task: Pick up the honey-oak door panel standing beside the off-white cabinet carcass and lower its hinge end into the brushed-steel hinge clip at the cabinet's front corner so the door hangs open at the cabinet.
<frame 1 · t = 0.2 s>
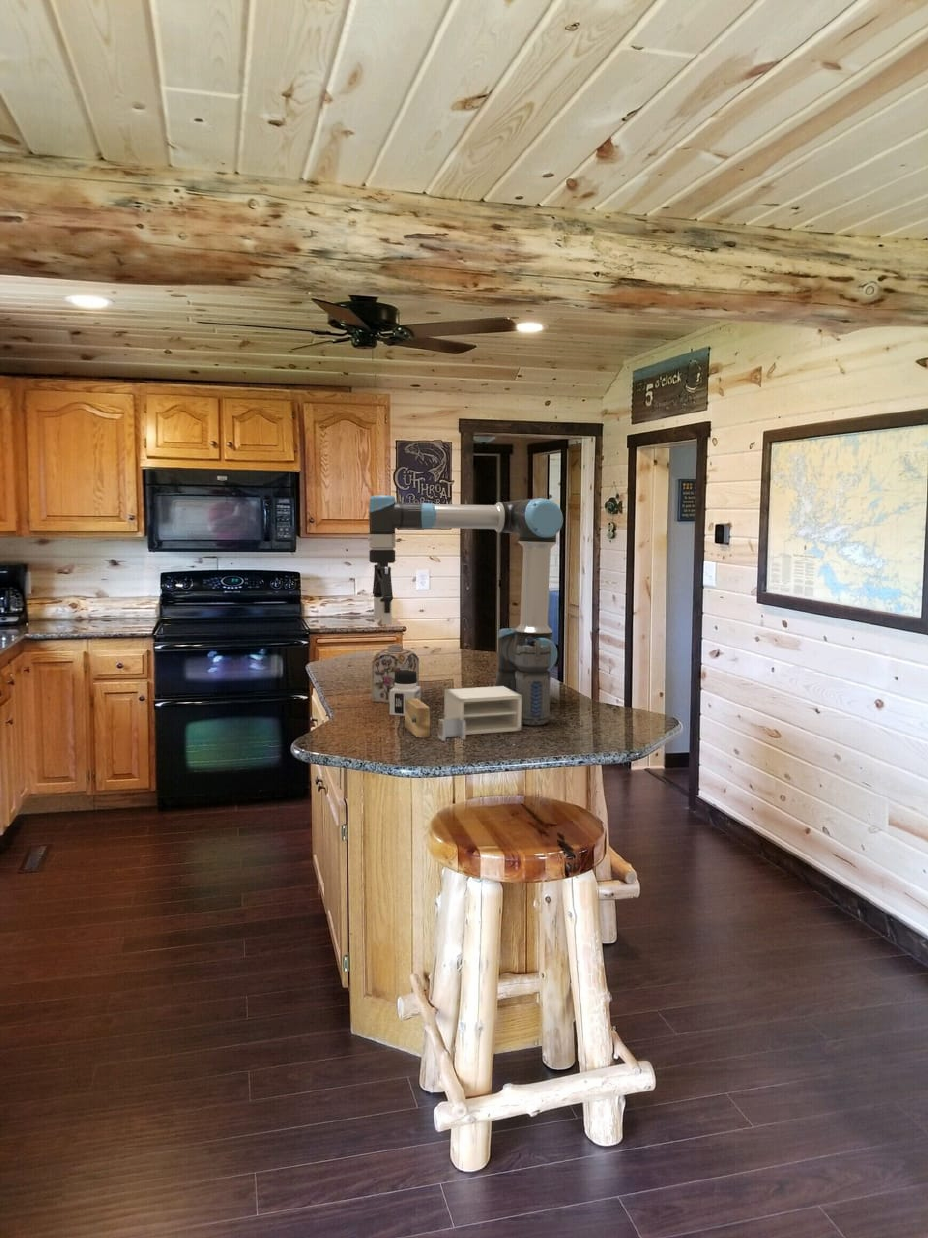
hand: (382, 621, 253), 28 cm above the countertop, fingers open, 13 cm apart
beverage bottle: (531, 722, 250), on the countertop
container: (405, 713, 259), on the countertop
cabinet carcass: (481, 727, 242), on the countertop
hinge clip: (451, 738, 229), on the countertop
oak door: (417, 732, 236), on the countertop
decorative jar: (395, 700, 277), on the countertop
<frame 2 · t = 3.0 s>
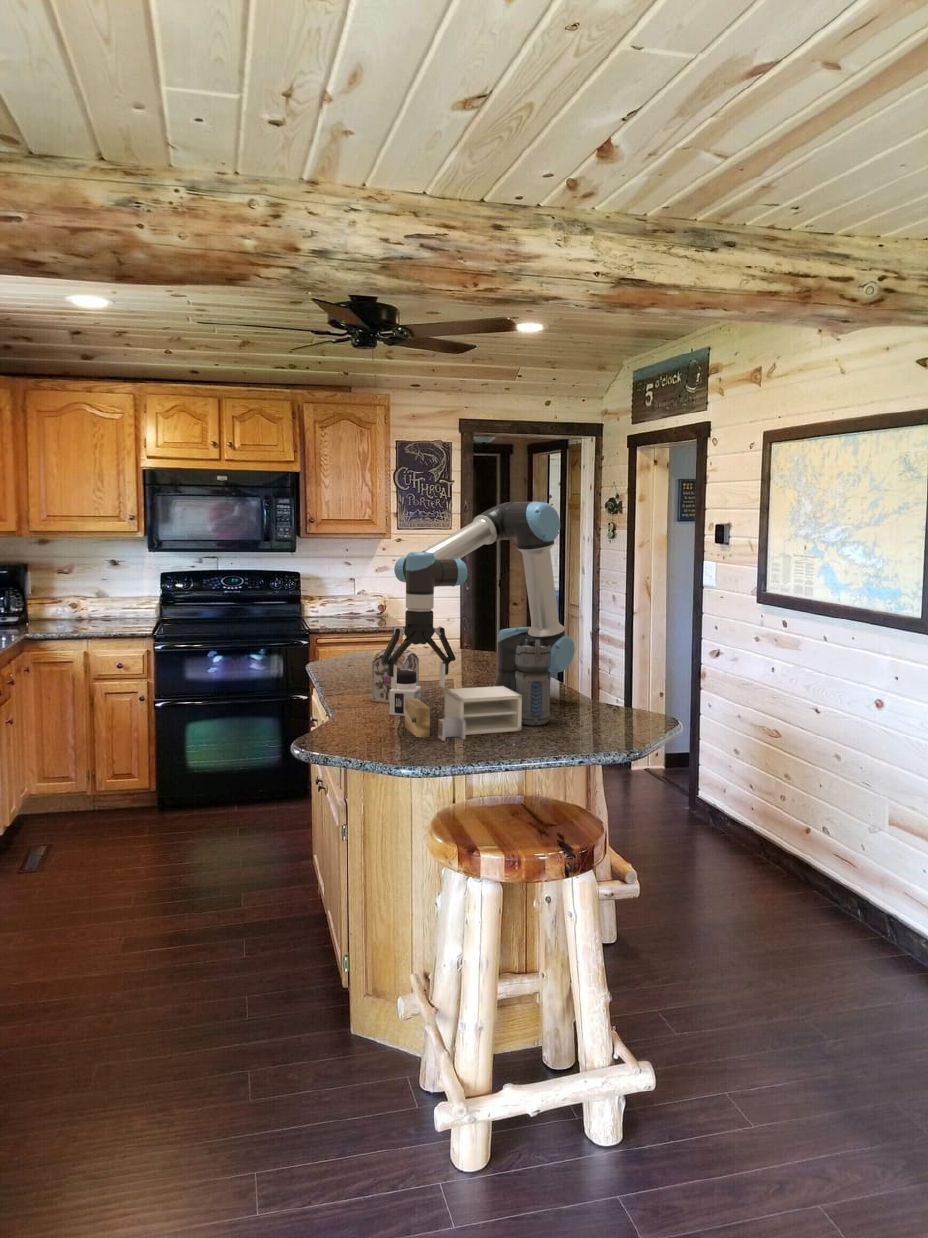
hand: (418, 687, 233), 13 cm above the countertop, fingers open, 13 cm apart
nothing on the countertop moved.
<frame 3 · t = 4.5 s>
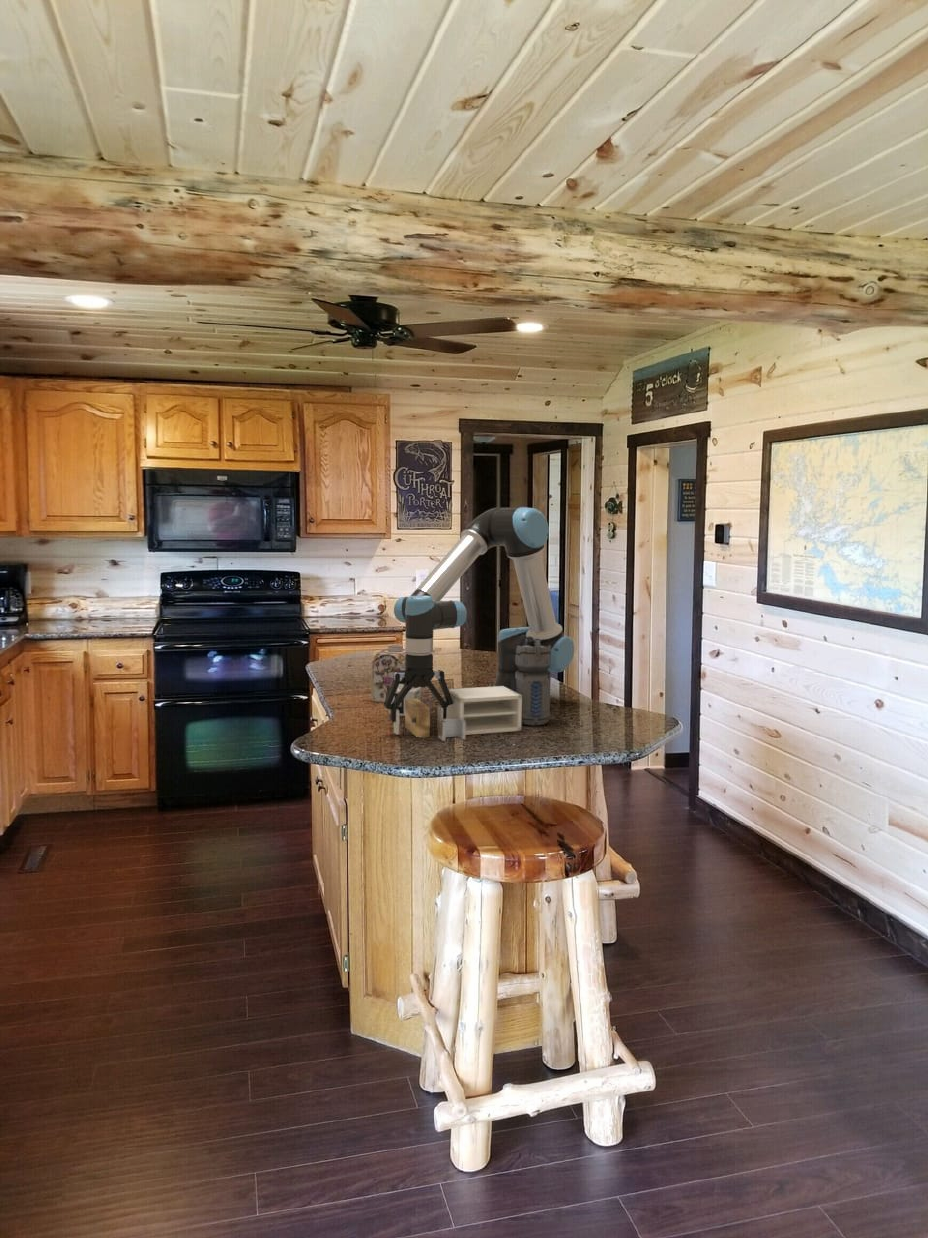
hand: (418, 732, 235), 0 cm above the countertop, fingers open, 12 cm apart
nothing on the countertop moved.
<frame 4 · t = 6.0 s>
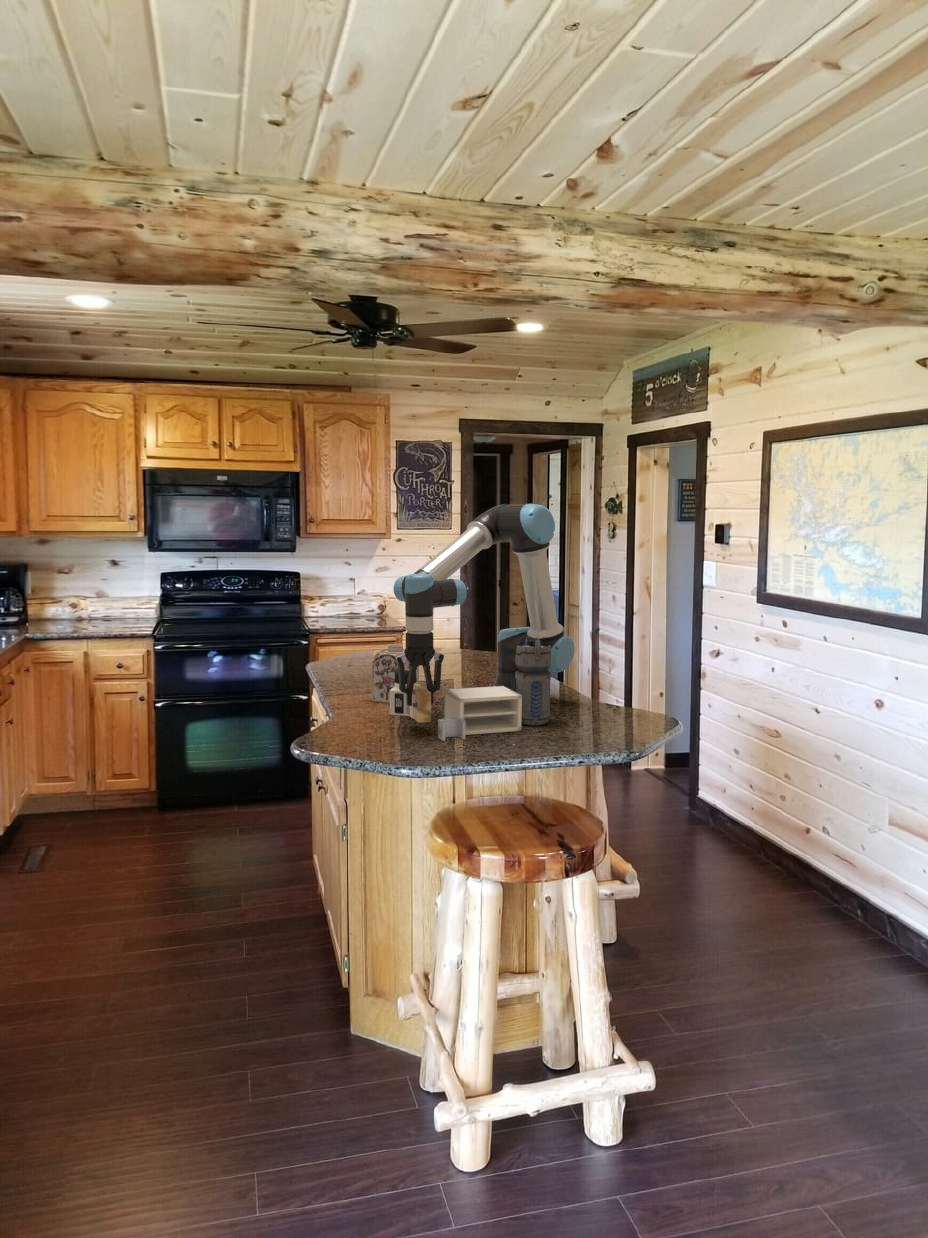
hand: (420, 716, 235), 5 cm above the countertop, fingers closed on oak door, 3 cm apart
oak door: (418, 717, 236), point 4 cm above the countertop, touching gripper
everything else where it was.
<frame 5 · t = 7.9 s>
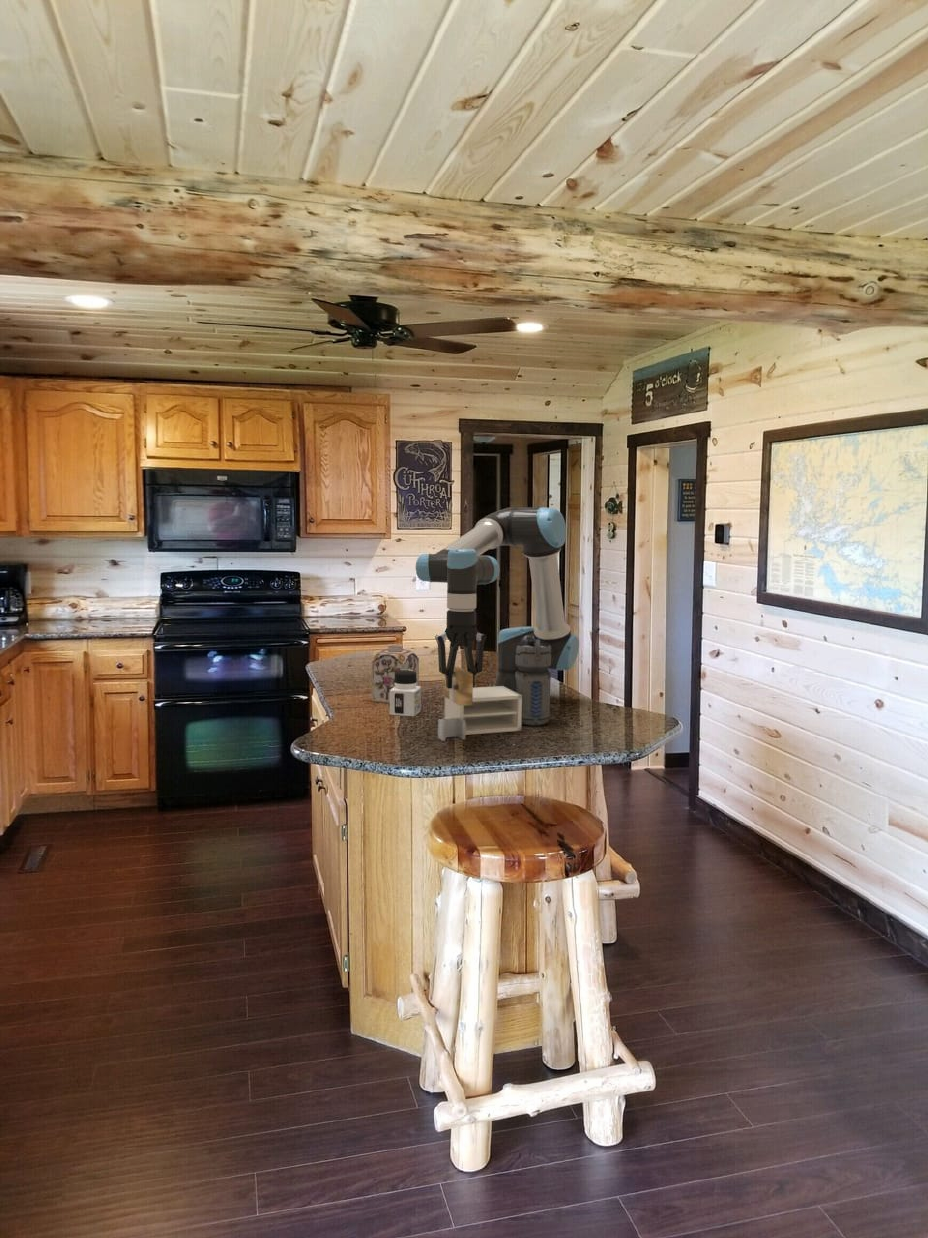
hand: (460, 700, 222), 12 cm above the countertop, fingers closed on oak door, 3 cm apart
oak door: (458, 700, 223), point 11 cm above the countertop, touching gripper
everything else where it was.
when the fingers open (0 cm above the countertop, at t = 10.1 s): oak door stays where it is, on the countertop.
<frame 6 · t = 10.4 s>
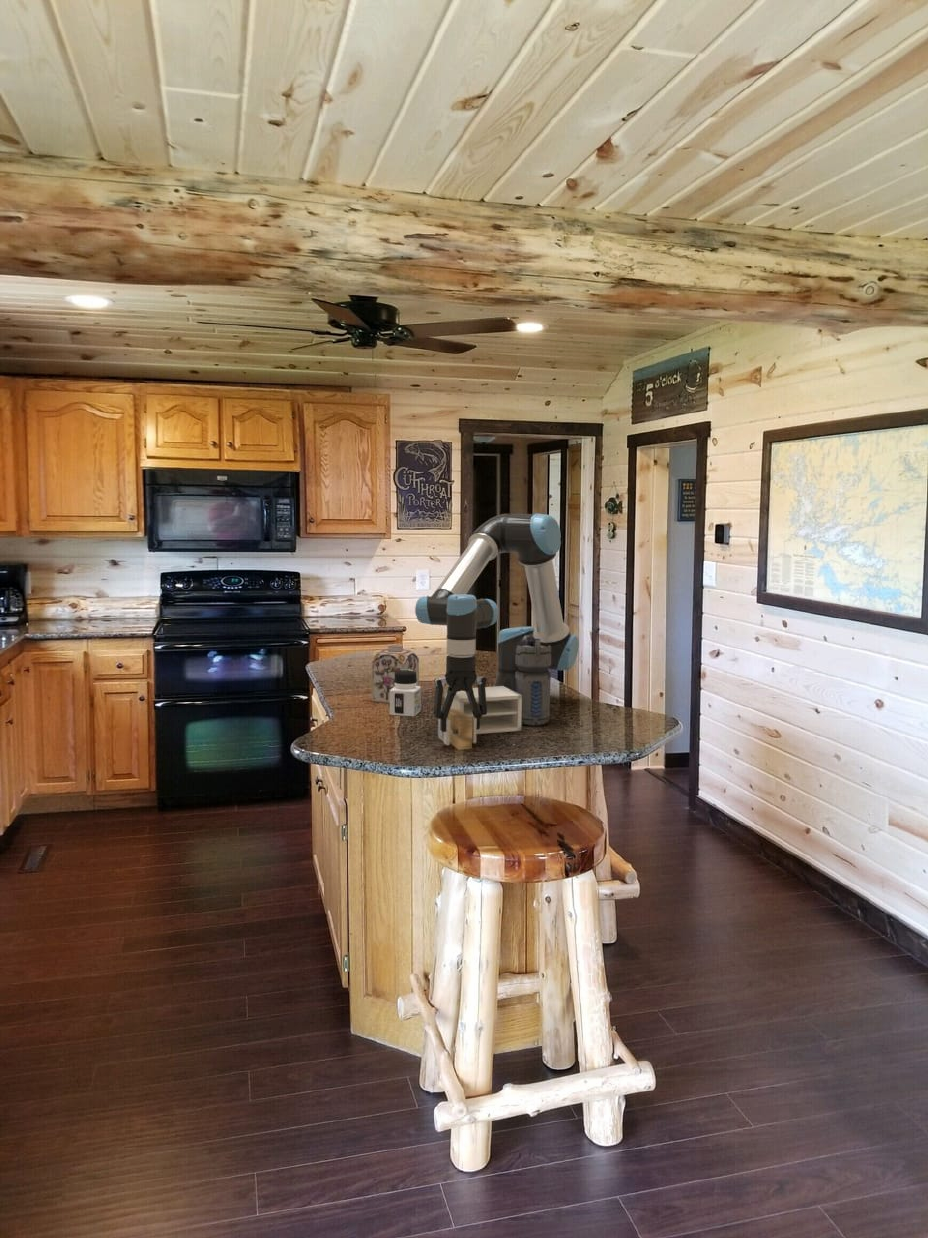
hand: (459, 742, 223), 1 cm above the countertop, fingers open, 7 cm apart
oak door: (457, 743, 224), on the countertop
everything else where it was.
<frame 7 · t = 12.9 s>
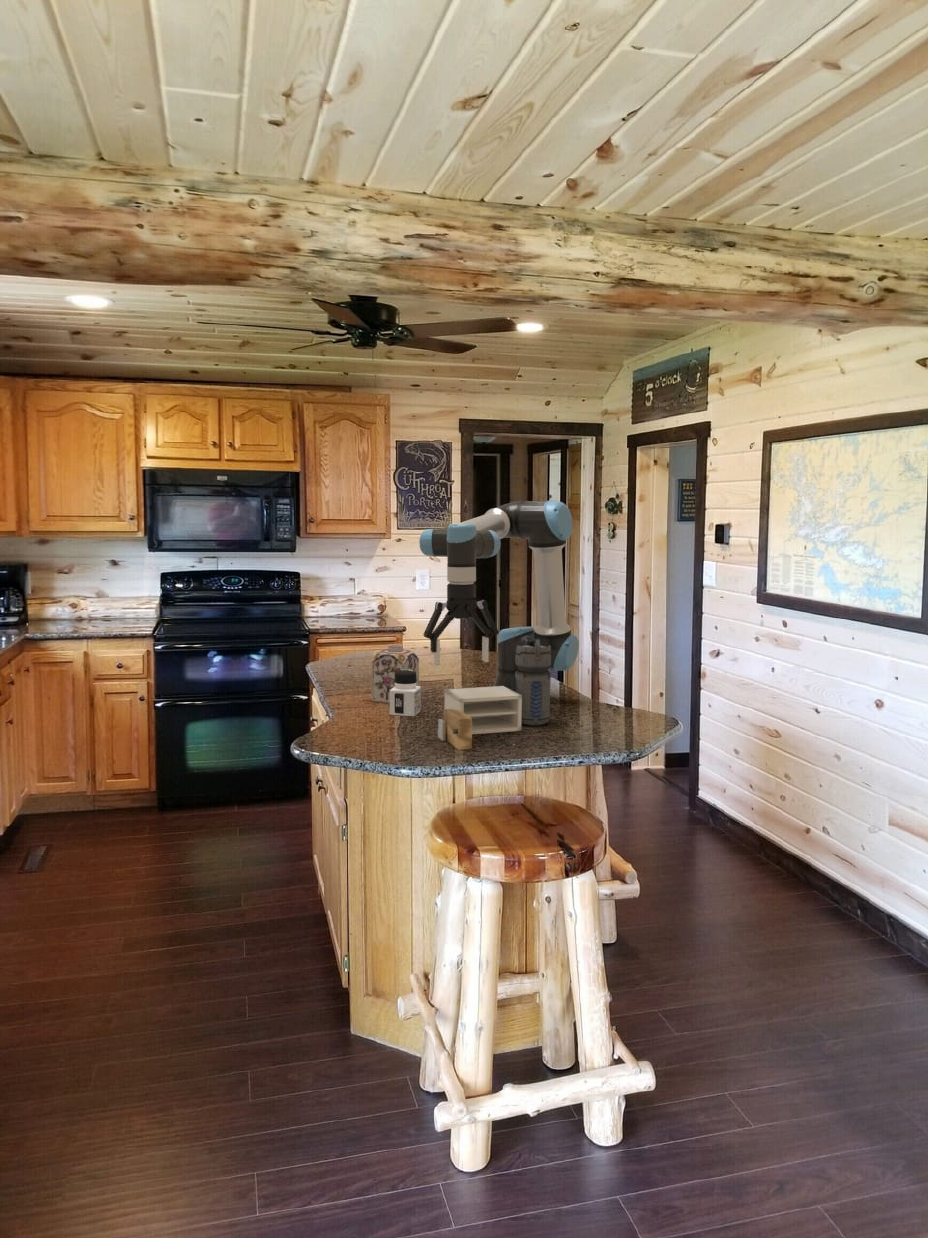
hand: (461, 663, 228), 20 cm above the countertop, fingers open, 13 cm apart
nothing on the countertop moved.
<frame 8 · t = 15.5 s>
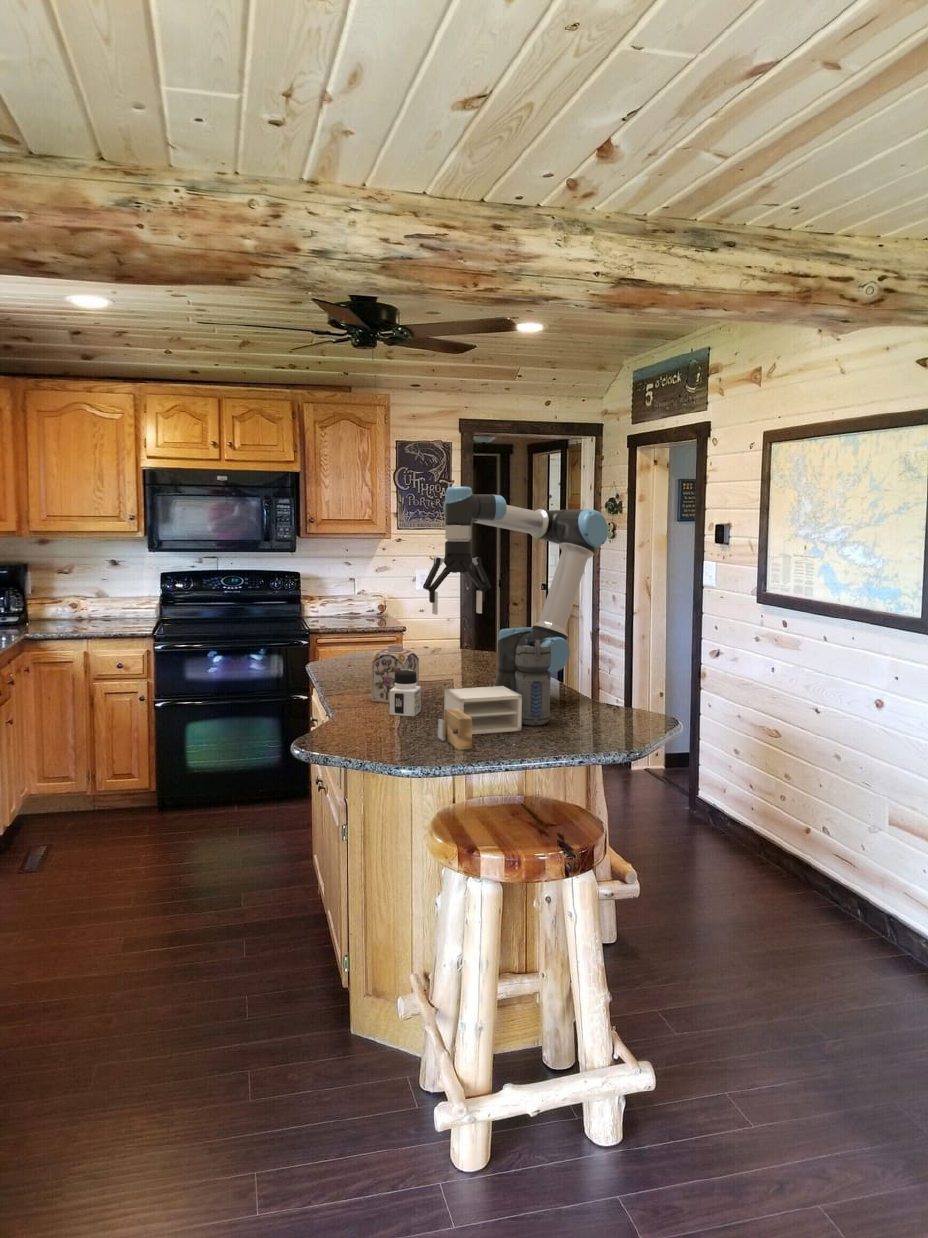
hand: (457, 613, 251), 31 cm above the countertop, fingers open, 13 cm apart
nothing on the countertop moved.
at the end: oak door 0.3 cm from the target spot on the countertop beside the hinge clip, on the countertop; oak door tilted 0°; the gripper is holding nothing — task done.
